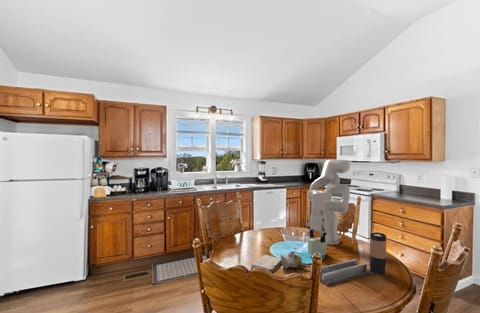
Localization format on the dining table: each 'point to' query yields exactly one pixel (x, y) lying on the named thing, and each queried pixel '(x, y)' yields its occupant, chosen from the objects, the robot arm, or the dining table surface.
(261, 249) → the dining table surface
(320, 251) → the door panel
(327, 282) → the rail
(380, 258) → the travel mug
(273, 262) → the washcloth
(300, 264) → the ceramic sculpture
